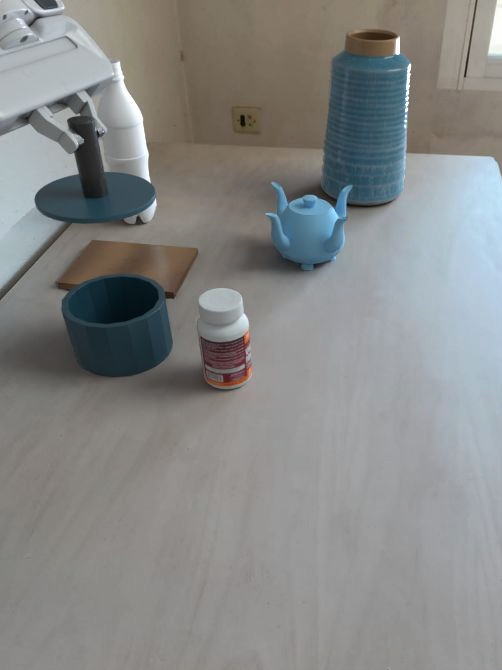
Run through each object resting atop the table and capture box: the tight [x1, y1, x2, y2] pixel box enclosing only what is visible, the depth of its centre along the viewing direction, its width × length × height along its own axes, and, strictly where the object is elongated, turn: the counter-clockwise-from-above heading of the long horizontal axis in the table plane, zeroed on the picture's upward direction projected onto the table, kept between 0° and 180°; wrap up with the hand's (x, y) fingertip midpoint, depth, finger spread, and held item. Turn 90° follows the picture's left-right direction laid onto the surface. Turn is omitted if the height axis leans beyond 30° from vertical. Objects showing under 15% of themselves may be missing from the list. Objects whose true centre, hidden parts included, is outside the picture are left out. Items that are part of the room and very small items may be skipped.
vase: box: [320, 28, 412, 207], centre depth 115 cm, size 16×16×27 cm
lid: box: [33, 115, 157, 225], centre depth 70 cm, size 13×13×9 cm
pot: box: [60, 274, 174, 378], centre depth 82 cm, size 13×13×8 cm
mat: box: [56, 239, 200, 299], centre depth 99 cm, size 18×14×1 cm
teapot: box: [264, 181, 353, 271], centre depth 100 cm, size 13×13×10 cm
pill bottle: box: [196, 287, 253, 390], centre depth 76 cm, size 6×6×11 cm
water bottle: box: [96, 58, 157, 225], centre depth 104 cm, size 7×7×25 cm
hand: (89, 142), depth 68 cm, fingers closed on lid, 3 cm apart
